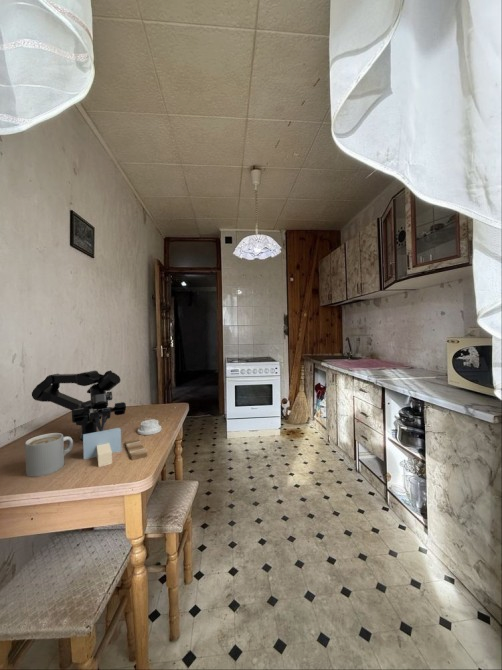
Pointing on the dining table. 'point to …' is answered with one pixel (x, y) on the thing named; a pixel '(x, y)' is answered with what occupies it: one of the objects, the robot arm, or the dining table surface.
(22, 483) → the dining table surface
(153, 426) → the mechanical component
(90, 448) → the light blue upright panel
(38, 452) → the coffee mug
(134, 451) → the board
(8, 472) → the dining table surface
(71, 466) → the dining table surface
